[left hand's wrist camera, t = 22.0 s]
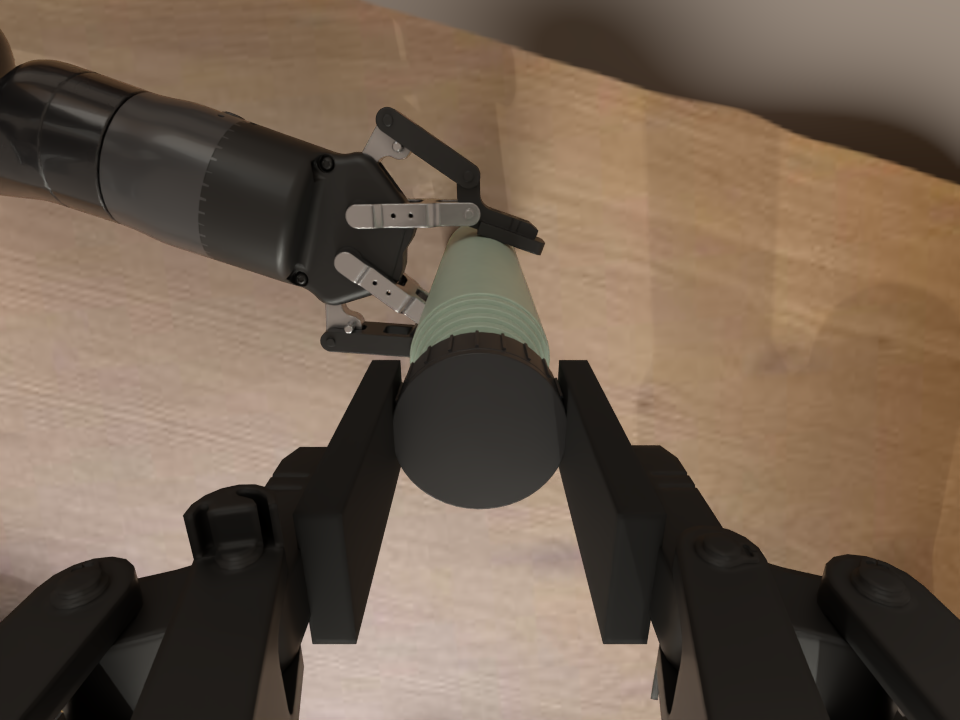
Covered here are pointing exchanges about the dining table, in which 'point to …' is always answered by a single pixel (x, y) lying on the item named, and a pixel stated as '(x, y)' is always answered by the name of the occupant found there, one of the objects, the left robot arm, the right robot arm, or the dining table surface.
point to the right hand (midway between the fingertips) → (523, 290)
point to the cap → (479, 421)
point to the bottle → (479, 296)
